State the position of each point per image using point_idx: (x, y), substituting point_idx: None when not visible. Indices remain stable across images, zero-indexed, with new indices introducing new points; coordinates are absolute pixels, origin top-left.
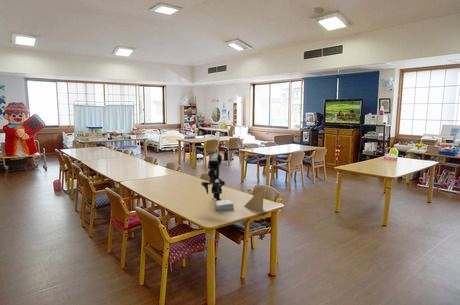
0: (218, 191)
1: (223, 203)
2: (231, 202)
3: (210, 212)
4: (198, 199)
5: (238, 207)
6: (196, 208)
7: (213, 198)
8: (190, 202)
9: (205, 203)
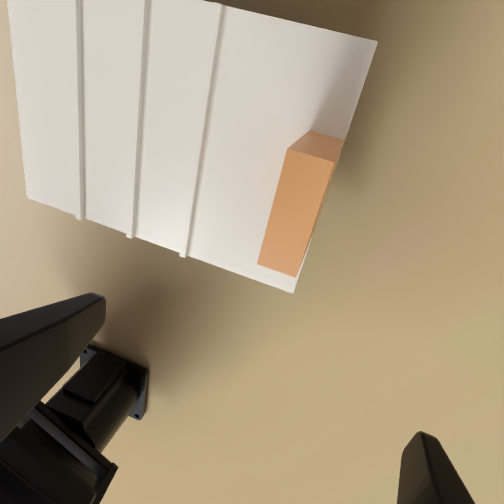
0: (61, 319)
1: (174, 71)
2: (23, 26)
3: (493, 81)
4: (252, 487)
5: (2, 11)
6: (494, 357)
7: (303, 255)
8: (375, 501)
9: (269, 387)
